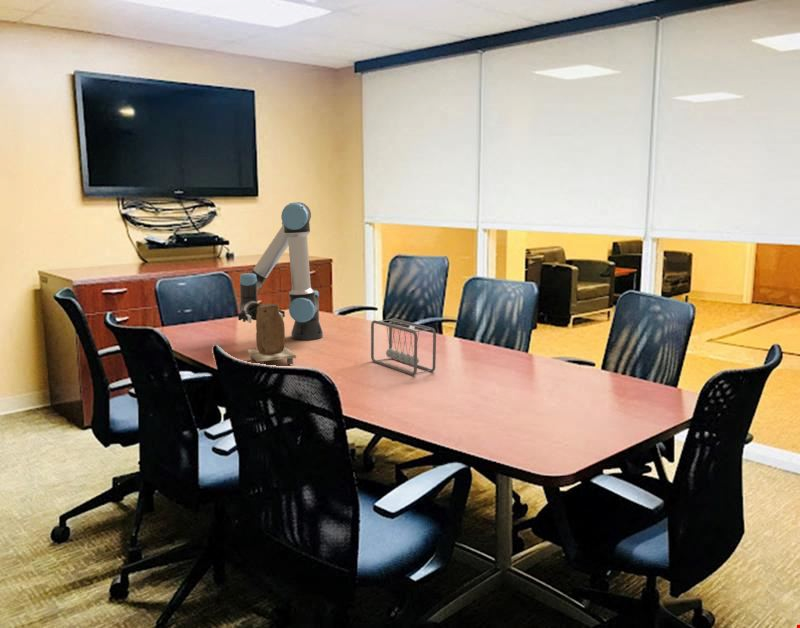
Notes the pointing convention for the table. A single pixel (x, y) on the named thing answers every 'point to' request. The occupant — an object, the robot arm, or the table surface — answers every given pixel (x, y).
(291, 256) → the robot arm
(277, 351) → the block
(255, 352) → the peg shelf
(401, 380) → the table surface
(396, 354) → the newton's cradle
